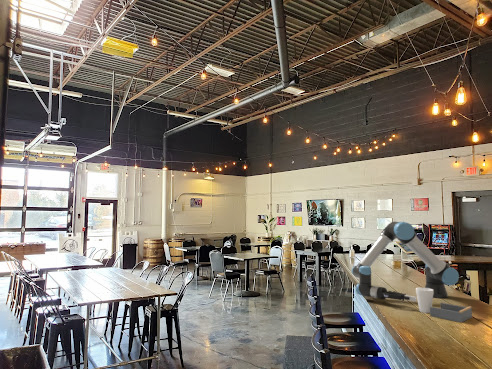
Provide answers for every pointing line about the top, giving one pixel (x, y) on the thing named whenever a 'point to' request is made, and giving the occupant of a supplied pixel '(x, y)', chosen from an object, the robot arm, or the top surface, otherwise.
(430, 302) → the foam cup
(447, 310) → the box
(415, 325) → the top surface
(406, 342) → the top surface
